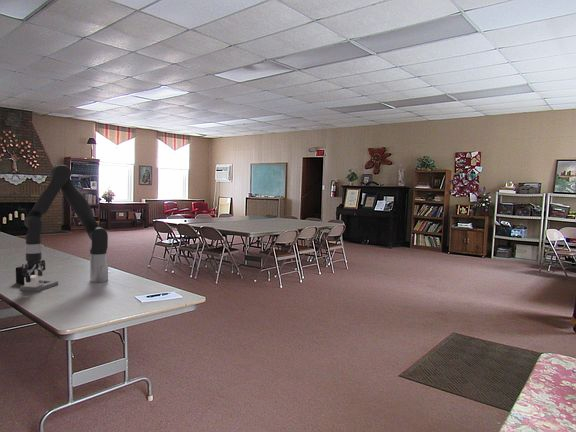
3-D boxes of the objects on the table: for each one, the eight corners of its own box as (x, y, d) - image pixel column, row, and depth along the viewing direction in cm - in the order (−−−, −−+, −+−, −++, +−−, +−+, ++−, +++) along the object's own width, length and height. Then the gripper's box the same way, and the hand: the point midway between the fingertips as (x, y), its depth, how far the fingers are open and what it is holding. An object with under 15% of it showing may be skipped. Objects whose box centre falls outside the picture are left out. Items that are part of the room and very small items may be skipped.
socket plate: (58, 285, 241) (58, 281, 241) (37, 292, 225) (37, 288, 225) (41, 283, 243) (41, 279, 242) (19, 290, 227) (19, 286, 227)
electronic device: (28, 285, 237) (28, 268, 237) (15, 283, 241) (15, 267, 240) (35, 284, 241) (34, 267, 241) (22, 282, 245) (22, 265, 244)
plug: (47, 288, 232) (46, 276, 231) (38, 291, 226) (38, 278, 225) (32, 287, 233) (32, 275, 233) (24, 289, 227) (24, 277, 227)
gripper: (29, 254, 220) (30, 284, 222) (49, 250, 234) (49, 277, 236) (17, 253, 222) (18, 283, 223) (37, 249, 236) (37, 277, 237)
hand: (34, 280), depth 229 cm, fingers open, 8 cm apart
